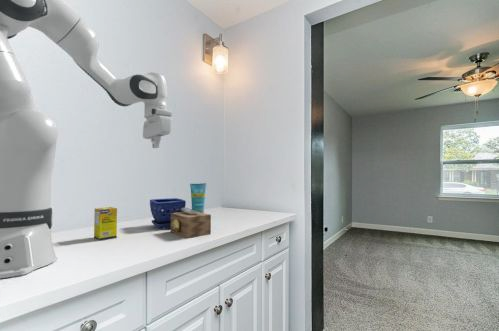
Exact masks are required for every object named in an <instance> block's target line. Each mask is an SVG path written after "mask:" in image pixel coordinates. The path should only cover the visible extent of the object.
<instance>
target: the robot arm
mask: <svg viewBox="0 0 499 331" xmlns="http://www.w3.org/2000/svg"><path fill="white" fill-rule="evenodd" d="M27 28H32V29H35V30H38V31H39V32H40V33H43V35H44V36H46V37H47V38H48V39H49V40H51V41H52V42H53V43H54V44H56V45H57V47H59V48H61V50H63V51H64V52H66V53H67V55H69V57H71V58H72V60H73V61H74V63H75V64H76V65H77V66H78V67H79V68H80V69H81V70H82V71H83V72H85V74H87V76H88V77H90V78H91V79H92V80H93V81H94V82H96V83H97V85H99V86H100V87H101V88H102V89H103V90H104V91H105V92H106V93H107V95H108V96H109V98H110V99H111V100H112V101H113V103H115V104H116V105H118V106H121V107H129V106H131V105H133V104H137V103H140V102H142V103H143V104H144V109H143V110H144V111H143V112H144V119H146V120H145V121H143V126H142V127H143V128H142V138H143V139H145V140H150V142H151V146H152V147H151V148H152V149H158V148H160V143H161V139H162V137H164V136H169V135H170V134H171V131H172V116H173V111H172V110H170V109H168V104H167V100H168V83H167V81H166V78H165V77H164V75H162V74H160V73H157V72H153V71H152V72H148V73H147V74H133V75H131V76H130V75H129V76H128V77H125V78H123V79H121V78H119V77H118V78H117V77H116V76H115V75H114V74H113V73H111V72H110V70H108V69H107V67H105V65H103V63H101V62H100V60H99V59H98V56H97V54H98V51H99V38H98V35H97V33H96V32H95V31H94V30H93V28H92V27H91V26H90V25H89V24H88V23H87V22H86V21H85V20H84V19H83V18H82V17H81V16H80V15H79V14H77V13H76V12H75V11H74V10H73V9H72V8H71V7H69V6H68V5H66V4H65V3H64V2H63V1H61V0H0V279H5V278H6V279H7V278H12V277H13V278H14V277H18V276H24V275H26V274H30V273H32V272H33V271H35V270H37V269H39V268H43V267H45V266H47V265H48V266H49V265H50V264H52V263H54V262H56V260H57V256H56V253H55V249H54V246H53V239H52V233H51V232H52V231H51V230H52V226H53V216H54V215H53V214H54V213H53V208H52V207H51V194H52V193H51V191H52V189H51V188H52V185H51V184H52V176H53V170H54V169H53V168H54V165H55V164H54V163H55V158H56V157H55V156H56V148H57V141H58V128H57V127H58V126H56V124H55V122H54V121H53V119H51V117H49V116H48V115H46V114H44V113H42V112H39V111H38V110H37V107H36V104H35V102H34V98H33V94H32V91H31V87H30V84H29V82H28V80H27V78H26V75H25V73H24V72H23V70H22V67H21V65H20V64H19V61H18V59H17V57H16V55H15V53H14V51H13V49H12V48H11V46H10V44H9V40H10V39H12V38H14V37H16V36H17V34H19V33H21V32H22V31H24V30H26V29H27Z"/></svg>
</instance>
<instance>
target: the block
mask: <svg viewBox="0 0 499 331" xmlns="http://www.w3.org/2000/svg"><path fill="white" fill-rule="evenodd" d="M173 220H179V222H181V228H180V231H179V232H174V231H173V229H172V222H173ZM211 220H212V215H211V213H210V214H209V213H205V212H204V213H200V212H198V214H188V213H186V212H178V213H171V228H170V233H172V234H175V235H177V236H180V237H183V238H186V239H191V238H196V237H202V236H207V235H208V236H209V235H211V233H212V232H211V228H212V221H211Z"/></svg>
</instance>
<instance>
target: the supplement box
mask: <svg viewBox="0 0 499 331" xmlns="http://www.w3.org/2000/svg"><path fill="white" fill-rule="evenodd" d="M93 217H94V218H93V219H94V220H93V221H94V224H93V225H94V226H93V232H94V234H93V238H94V239H96V240H98V241H105V240H111V239H115V238H116V239H117V237H118V236H117V234H118V233H117V232H118V230H117V228H118V225H117V224H118V208H116V207H113V206H108V207H107V206H105V207H96V208H94V216H93Z"/></svg>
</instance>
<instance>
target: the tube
mask: <svg viewBox="0 0 499 331" xmlns="http://www.w3.org/2000/svg"><path fill="white" fill-rule="evenodd" d="M189 185H190V198H191V209H192V210H195V211H197V212H200V213H205V199H206V198H205V197H206V190H207V189H206V187H207V183H206V182H205V183H204V182H202V183H201V182H200V183H190V184H189Z"/></svg>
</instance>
